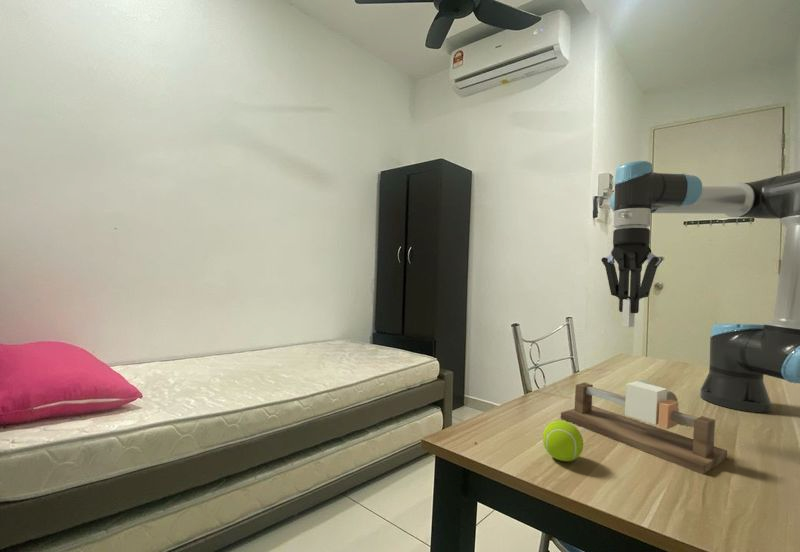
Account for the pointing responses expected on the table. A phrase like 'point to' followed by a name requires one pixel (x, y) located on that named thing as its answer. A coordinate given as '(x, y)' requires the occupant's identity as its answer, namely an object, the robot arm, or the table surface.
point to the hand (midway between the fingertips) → (628, 326)
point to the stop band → (667, 414)
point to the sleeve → (644, 401)
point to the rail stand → (648, 431)
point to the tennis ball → (563, 440)
